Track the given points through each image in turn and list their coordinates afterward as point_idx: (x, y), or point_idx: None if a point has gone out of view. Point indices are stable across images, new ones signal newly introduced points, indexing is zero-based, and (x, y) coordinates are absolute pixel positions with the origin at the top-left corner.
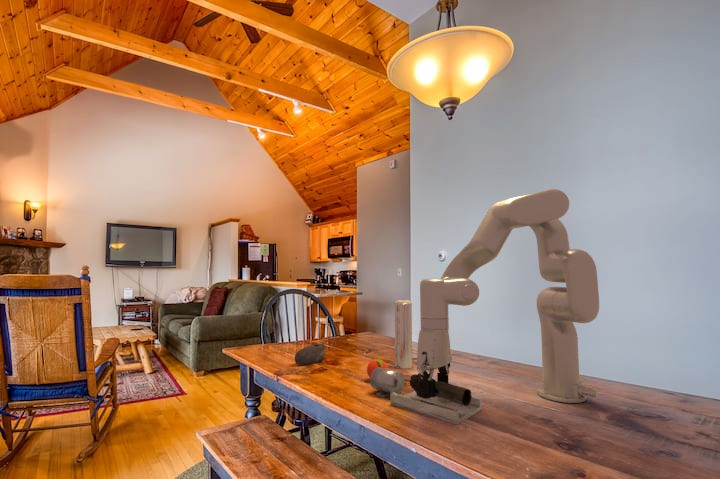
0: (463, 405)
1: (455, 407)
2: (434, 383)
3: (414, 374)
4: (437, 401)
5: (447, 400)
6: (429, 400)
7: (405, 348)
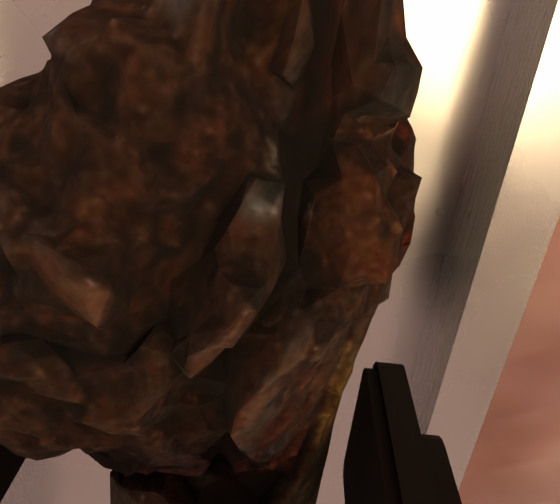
0: (322, 490)
1: None
2: (136, 489)
3: (166, 65)
4: None
5: (365, 364)
6: None
7: None
